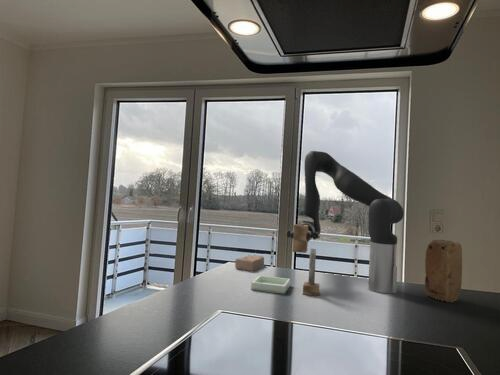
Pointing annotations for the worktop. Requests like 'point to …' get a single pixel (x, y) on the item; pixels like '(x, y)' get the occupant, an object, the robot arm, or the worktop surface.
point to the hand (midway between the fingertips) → (299, 236)
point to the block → (443, 270)
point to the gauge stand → (311, 277)
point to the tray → (270, 284)
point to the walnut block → (300, 238)
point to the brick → (249, 262)
